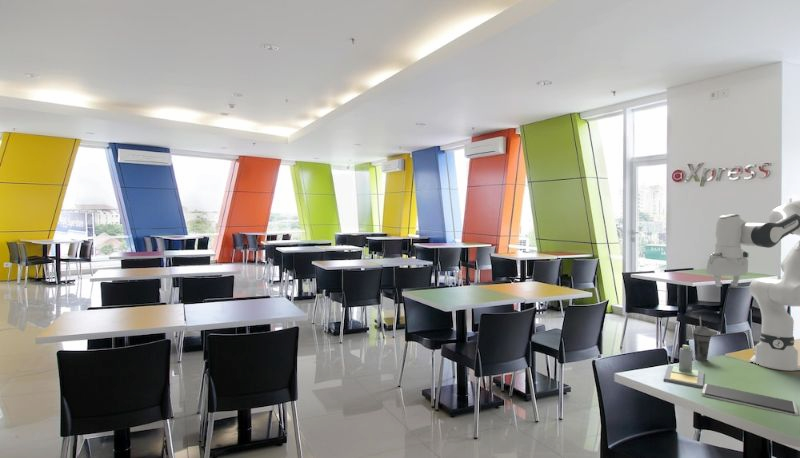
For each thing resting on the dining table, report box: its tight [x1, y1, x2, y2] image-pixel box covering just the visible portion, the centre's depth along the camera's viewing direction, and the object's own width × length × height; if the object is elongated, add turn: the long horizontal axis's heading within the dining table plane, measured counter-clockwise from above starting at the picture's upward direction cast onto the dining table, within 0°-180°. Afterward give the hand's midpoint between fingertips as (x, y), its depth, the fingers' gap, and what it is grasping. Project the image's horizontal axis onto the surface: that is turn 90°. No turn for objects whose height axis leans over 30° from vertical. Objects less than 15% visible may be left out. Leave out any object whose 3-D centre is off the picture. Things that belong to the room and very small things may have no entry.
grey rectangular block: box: [678, 344, 694, 373], centre depth 195 cm, size 5×5×11 cm
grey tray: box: [700, 383, 799, 417], centre depth 167 cm, size 13×27×2 cm, turn 53°
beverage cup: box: [692, 315, 712, 361], centre depth 218 cm, size 7×7×20 cm
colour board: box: [663, 364, 705, 389], centre depth 191 cm, size 22×13×1 cm, turn 146°
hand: (726, 286), depth 196 cm, fingers open, 8 cm apart
